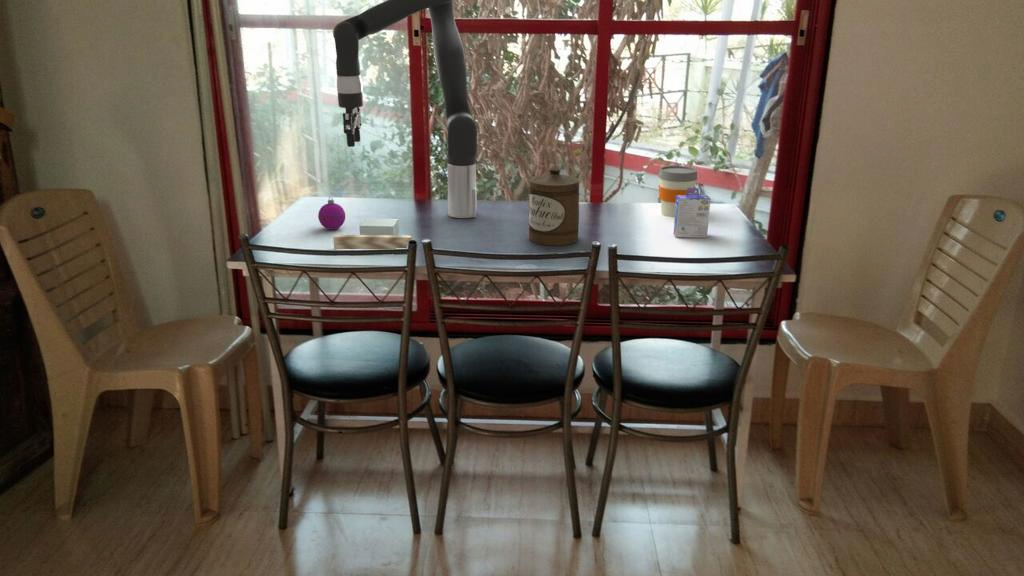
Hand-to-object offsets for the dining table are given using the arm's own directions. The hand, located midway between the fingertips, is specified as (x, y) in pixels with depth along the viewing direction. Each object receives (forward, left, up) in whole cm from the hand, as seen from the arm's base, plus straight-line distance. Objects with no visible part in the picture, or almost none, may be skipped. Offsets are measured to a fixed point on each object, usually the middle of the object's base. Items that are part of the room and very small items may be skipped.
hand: (354, 144), depth 259 cm
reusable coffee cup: (-104, -13, -25) cm, 108 cm away
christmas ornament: (+6, +10, -25) cm, 27 cm away
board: (-10, +31, -25) cm, 41 cm away
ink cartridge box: (-104, +13, -25) cm, 107 cm away
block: (-10, +19, -25) cm, 33 cm away
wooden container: (-62, +18, -25) cm, 69 cm away
